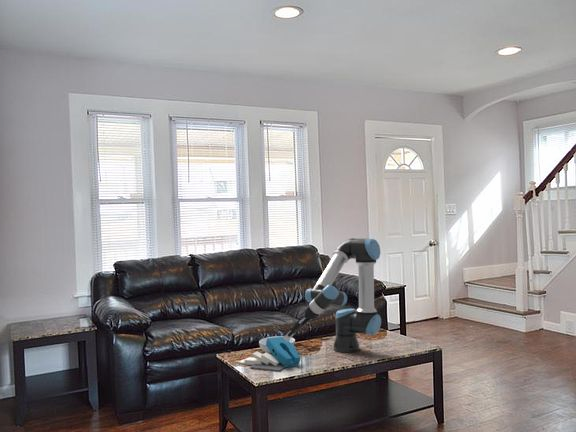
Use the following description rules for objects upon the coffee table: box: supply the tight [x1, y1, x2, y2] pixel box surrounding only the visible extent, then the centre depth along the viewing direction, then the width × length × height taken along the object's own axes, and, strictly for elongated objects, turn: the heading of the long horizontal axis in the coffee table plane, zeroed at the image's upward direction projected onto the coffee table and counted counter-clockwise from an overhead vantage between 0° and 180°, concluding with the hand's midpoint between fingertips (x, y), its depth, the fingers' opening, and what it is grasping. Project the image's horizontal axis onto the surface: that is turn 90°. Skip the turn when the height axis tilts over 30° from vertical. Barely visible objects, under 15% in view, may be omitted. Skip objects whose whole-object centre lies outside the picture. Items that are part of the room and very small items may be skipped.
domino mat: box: [249, 363, 287, 372], centre depth 272 cm, size 17×16×1 cm
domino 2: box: [244, 356, 263, 364], centre depth 276 cm, size 2×5×10 cm
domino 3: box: [251, 351, 270, 365], centre depth 275 cm, size 2×5×10 cm
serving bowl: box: [258, 335, 296, 355], centre depth 298 cm, size 21×21×7 cm
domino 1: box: [238, 359, 254, 366], centre depth 278 cm, size 2×5×10 cm
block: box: [266, 337, 301, 368], centre depth 277 cm, size 12×5×20 cm
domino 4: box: [261, 352, 281, 366], centre depth 273 cm, size 2×5×10 cm
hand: (285, 339), depth 268 cm, fingers closed
